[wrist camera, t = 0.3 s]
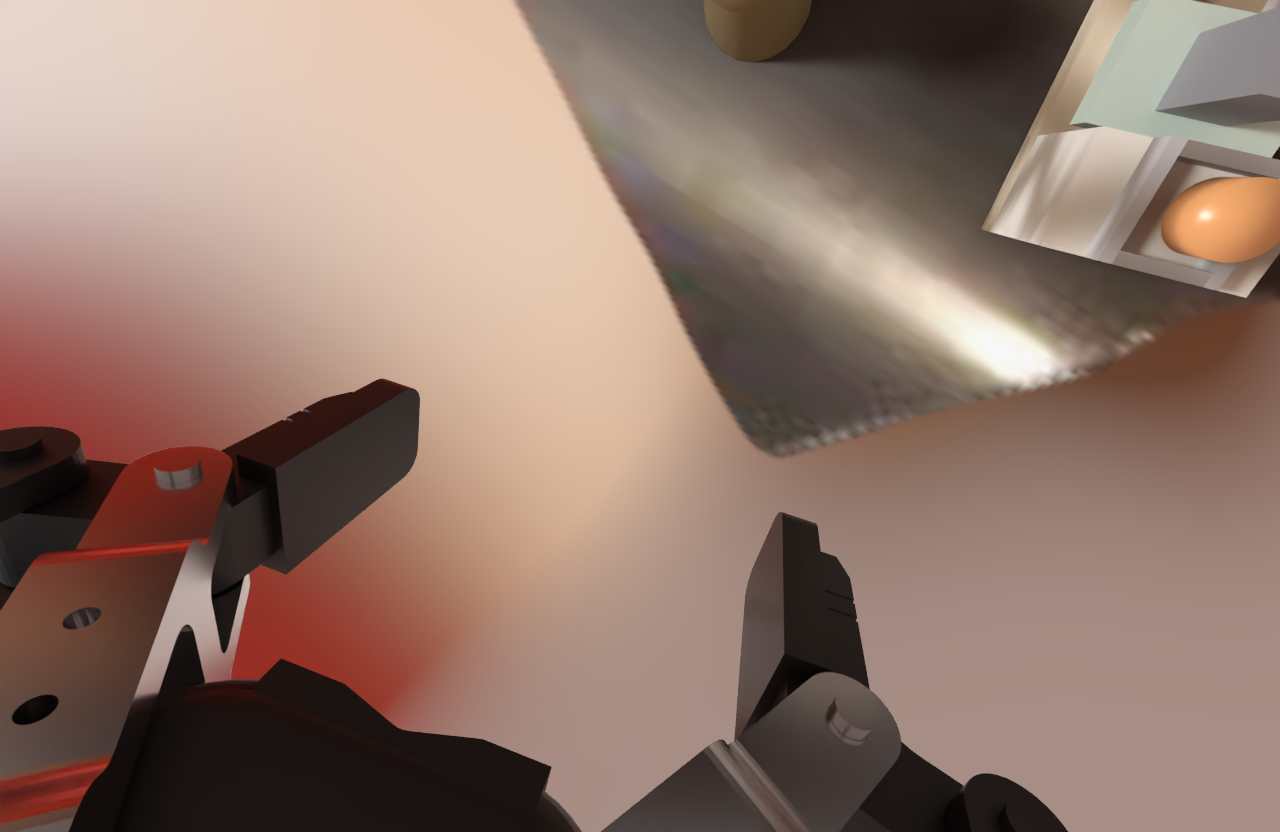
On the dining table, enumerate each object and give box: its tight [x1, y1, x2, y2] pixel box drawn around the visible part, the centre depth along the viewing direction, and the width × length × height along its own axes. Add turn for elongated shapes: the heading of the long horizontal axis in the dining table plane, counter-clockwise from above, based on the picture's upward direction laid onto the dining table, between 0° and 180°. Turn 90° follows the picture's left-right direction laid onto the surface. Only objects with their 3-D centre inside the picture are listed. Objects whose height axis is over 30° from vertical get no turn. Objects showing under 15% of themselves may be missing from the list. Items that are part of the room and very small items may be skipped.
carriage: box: [1070, 0, 1280, 158], centre depth 22 cm, size 5×8×8 cm, turn 76°
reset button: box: [1161, 177, 1280, 263], centre depth 21 cm, size 3×3×2 cm
